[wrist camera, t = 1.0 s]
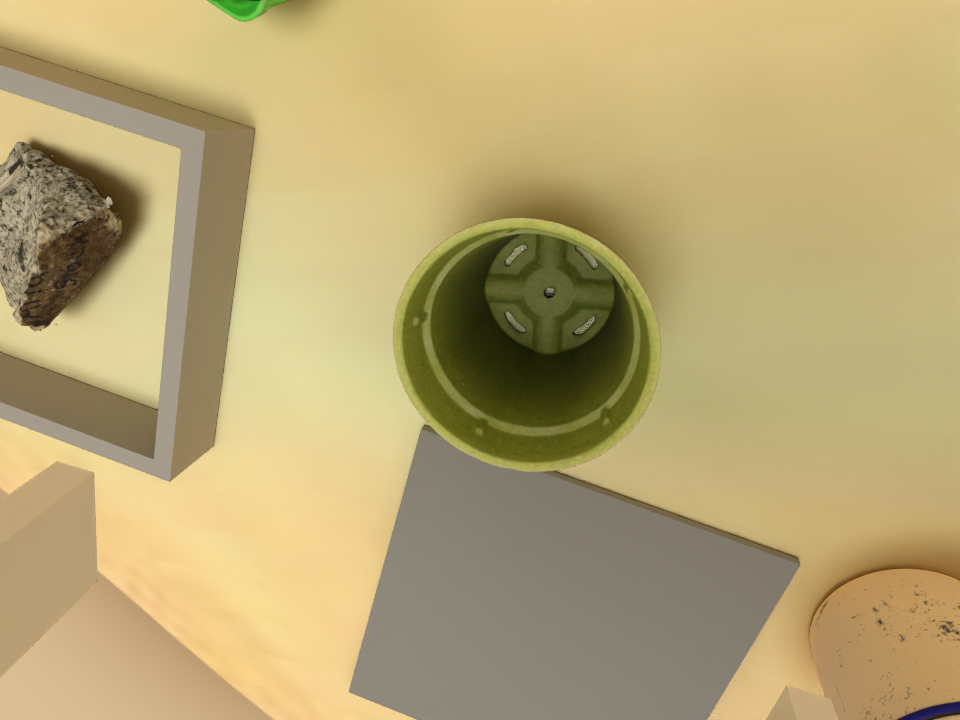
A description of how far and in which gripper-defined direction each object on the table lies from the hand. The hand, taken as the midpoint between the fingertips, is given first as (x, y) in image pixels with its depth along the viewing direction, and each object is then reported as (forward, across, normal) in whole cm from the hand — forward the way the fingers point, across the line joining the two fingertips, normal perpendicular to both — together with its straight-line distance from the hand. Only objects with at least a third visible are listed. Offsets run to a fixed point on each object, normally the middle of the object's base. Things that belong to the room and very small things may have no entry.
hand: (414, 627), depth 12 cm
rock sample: (+22, +25, +4) cm, 34 cm away
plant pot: (+21, -1, 0) cm, 21 cm away
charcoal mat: (+20, -6, +19) cm, 28 cm away
